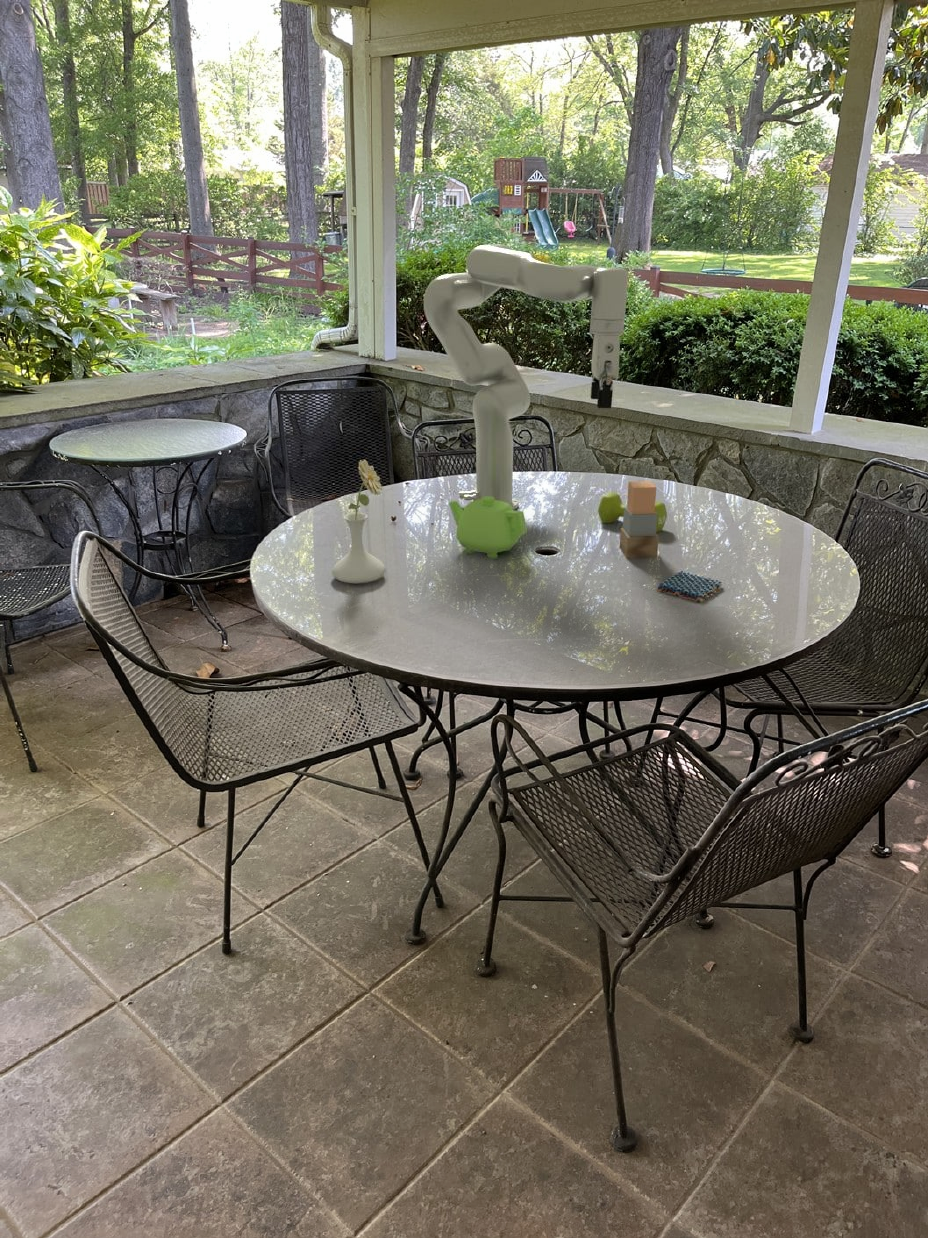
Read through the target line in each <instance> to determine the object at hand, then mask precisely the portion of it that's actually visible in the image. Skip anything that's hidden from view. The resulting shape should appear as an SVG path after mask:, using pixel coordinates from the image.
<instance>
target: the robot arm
mask: <svg viewBox="0 0 928 1238" xmlns="http://www.w3.org/2000/svg"><path fill="white" fill-rule="evenodd" d="M465 268H466V272H459V273H448V274H443V275H439V276H438V277H436V278H434V279H432V280H431V281H430V282H429V284H428V286H427V287H426V289H425V292H424V297H423V310H424V311H423V312H424V316H425V318H426V320H427V322H428V324H429V327H430V328H431V330H432V331H433V333H434V334H435V336H436V337H437V339H438V340H439V342H440V344H441V345H442V347H443V349H444V351H445V353H446V355H447V356H448V358H449V360H450V361H451V363H452V365H453V367H454V369H455V371H456V373H457V374H458V376H459V378H460V379H461V380H462V381H463V383H464V384H466V385H468V386H480V385H483V384H488V385H487V386H484V387H482V388H481V389H480V390H478V391H477V392H476V394H475V396H474V397H473V401H472V416H473V420H474V426H475V427H474V428H475V445H476V446H475V450H476V452H475V454H476V455H475V456H476V465H475V466H476V469H475V470H476V473H475V474H476V477H475V478H476V479H475V480H476V481H475V482H476V485H475V487H474V489H473V490H472V489H471V490H470V491H464V490H463V491H462V490H461V491H458V494H459V496H458V497H459V499H461V500H462V499H464V501H470V503H471V502H473V501H476V500H479V499H482V497H485V496H492V497H494V498H495V499H494V500H499V501H503V502H506V503H508V504H510V506H511V507H512V509H513V511H515V510H516V509H517V508H518V506H519V501H518V500H517V499H516V498H514V497H513V479H514V478H513V475H514V474H513V473H514V472H513V470H514V469H513V468H514V436H513V431H512V428H511V424H510V420H512V419H514V418H517V417H520V416H522V415H523V414H525V412H527V411H528V410H529V407H530V404H531V394H530V390H529V388H528V386H527V384H526V382H525V380H524V379H523V377H522V375H521V373H520V371H519V369H518V367H517V366H516V365H515V362H514V361H513V358H512V357H511V355H510V354H509V353H508V350H506V348H504V347H503V346H501V345H500V344H497V343H494V342H489V343H481V342H480V340H479V339H478V336H477V335H476V333H475V332H474V329H473V328H472V326H471V325H470V323H468V321H467V320H466V319H464V318H463V316H462V315H460V313H459V312H458V311H459V310H465V309H472V308H476V307H478V306H480V305H482V304H483V303H484V302H486V301H487V300H488V299H489V298H490V297H491V296H492V295H494V294H495V293H496V292H498V290H500V289H501V288H503V289H509V290H514V291H518V292H521V293H523V294H527V295H529V296H531V297H535V298H538V299H543V300H547V301H553V302H557V303H566V304H567V303H572V302H580V301H581V302H582V301H587V300H588V301H589V300H591V310H590V322H589V323H590V325H589V334H591V335H593V341H592V342H593V343H592V354H591V373H592V379H591V380H592V381H591V387H590V399H591V400H597V403H596V404H597V405H596V406H597V408H598V409H612V404H613V394H614V393H613V391H614V390H613V389H614V384H613V383H614V381H617V380H618V379H619V370H620V368H619V367H620V354H621V353H620V349H621V347H620V346H621V345H620V341H621V340H620V339H621V338H620V336H622V335H624V329H625V318H626V306H627V305H626V304H627V297H628V287H629V286H628V282H629V272H628V271H627V269H625V268H621V267H600V266H596V265H592V264H575V265H574V264H573V265H567V266H565V265H559V264H558V265H557V264H552V263H547V262H544V261H543V262H542V261H539V260H537V259H536V257H535V255H533V253H530V252H525V251H520V250H514V249H513V248H511V247H510V246H508V245H506V244H503V243H502V244H500V243H499V244H483V245H478V246H476V247H474V248H473V249H472V250H470V252H469V253H468V255H467V256H466V260H465ZM613 380H614V381H613Z"/></svg>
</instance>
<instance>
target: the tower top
mask: <svg viewBox="0 0 928 1238" xmlns="http://www.w3.org/2000/svg"><path fill="white" fill-rule="evenodd" d="M657 515H658V514H657V513H656V512H655V511H654V514H631V512H630V511H629V510H628V508H627V507H624V517H622V518H623V520H622V528H623V529H624V530H625V532H626V533H627V534H628V536H629V537H634V536H656V534H657V533H656V526H657Z"/></svg>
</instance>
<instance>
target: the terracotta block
mask: <svg viewBox="0 0 928 1238" xmlns="http://www.w3.org/2000/svg"><path fill="white" fill-rule="evenodd" d="M627 486H628V487H627V488H628V489H627V501H626V502H627V504H626V505H627V508H628V510H629V511H630V512H631V514H654V511H655V502H656V500H657V499H656V497H657V486H656V485H655V484H654V482H653V481H651V480H645V481H643V480H642V481H640V480H639V481H637V480H636V481H635V480H634V481H628V485H627Z"/></svg>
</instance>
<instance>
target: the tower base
mask: <svg viewBox="0 0 928 1238" xmlns="http://www.w3.org/2000/svg"><path fill="white" fill-rule="evenodd" d="M619 533H620V537H619V550H620V551H621V552H622V554H623V555H624V558H625V559H651V558H658V554H659V553H658V552H659V543H660V542H659V540H660V537H659V535H658V533H656V536H634V537H629V536H628V534H627V533H626V532H625V530H624V529H623V527H620V532H619Z"/></svg>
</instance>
